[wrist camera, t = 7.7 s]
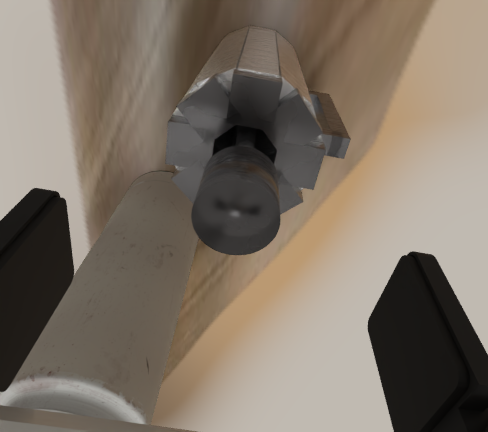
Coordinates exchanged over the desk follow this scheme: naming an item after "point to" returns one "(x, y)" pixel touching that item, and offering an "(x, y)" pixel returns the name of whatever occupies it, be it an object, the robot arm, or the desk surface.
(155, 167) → the desk surface
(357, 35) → the desk surface
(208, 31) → the desk surface
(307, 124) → the press pot
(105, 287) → the thermos bottle
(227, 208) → the plunger
